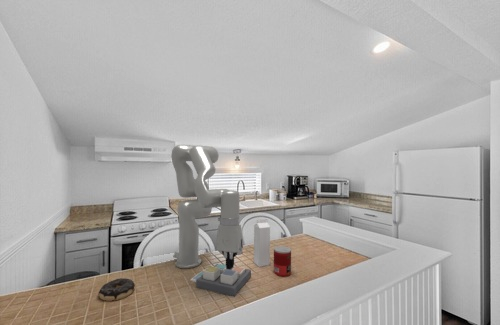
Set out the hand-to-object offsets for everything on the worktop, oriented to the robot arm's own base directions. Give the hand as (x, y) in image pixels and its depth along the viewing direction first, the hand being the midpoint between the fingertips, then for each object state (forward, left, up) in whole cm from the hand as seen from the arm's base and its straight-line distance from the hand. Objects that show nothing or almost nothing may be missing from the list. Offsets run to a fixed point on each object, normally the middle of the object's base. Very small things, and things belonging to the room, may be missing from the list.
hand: (229, 267), depth 90 cm
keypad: (-4, +4, -8) cm, 10 cm away
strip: (-16, +5, -8) cm, 19 cm away
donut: (-38, -19, -9) cm, 43 cm away
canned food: (+16, +22, -8) cm, 28 cm away
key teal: (-8, +8, -7) cm, 14 cm away
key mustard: (-8, 0, -5) cm, 10 cm away
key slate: (0, 0, -5) cm, 5 cm away
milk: (+4, +28, -8) cm, 29 cm away
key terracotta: (0, +8, -8) cm, 11 cm away
